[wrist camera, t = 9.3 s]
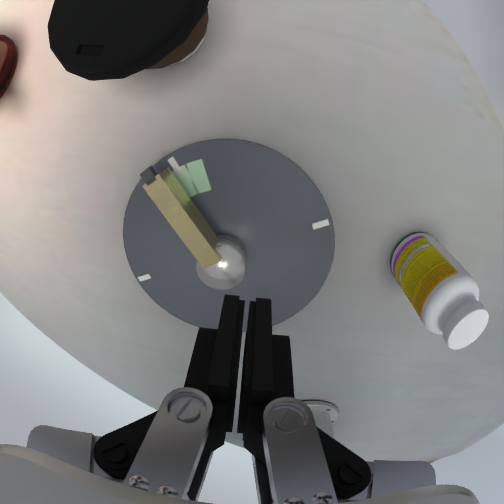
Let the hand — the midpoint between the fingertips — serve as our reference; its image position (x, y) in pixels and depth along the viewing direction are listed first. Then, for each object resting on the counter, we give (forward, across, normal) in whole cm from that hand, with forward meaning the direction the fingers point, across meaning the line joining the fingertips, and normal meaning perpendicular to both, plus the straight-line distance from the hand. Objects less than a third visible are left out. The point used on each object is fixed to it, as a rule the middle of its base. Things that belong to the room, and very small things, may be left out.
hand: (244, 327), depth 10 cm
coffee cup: (+18, +9, -15) cm, 25 cm away
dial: (+18, +3, +6) cm, 20 cm away
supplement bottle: (+19, -19, +5) cm, 27 cm away
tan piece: (+17, +5, +3) cm, 18 cm away
